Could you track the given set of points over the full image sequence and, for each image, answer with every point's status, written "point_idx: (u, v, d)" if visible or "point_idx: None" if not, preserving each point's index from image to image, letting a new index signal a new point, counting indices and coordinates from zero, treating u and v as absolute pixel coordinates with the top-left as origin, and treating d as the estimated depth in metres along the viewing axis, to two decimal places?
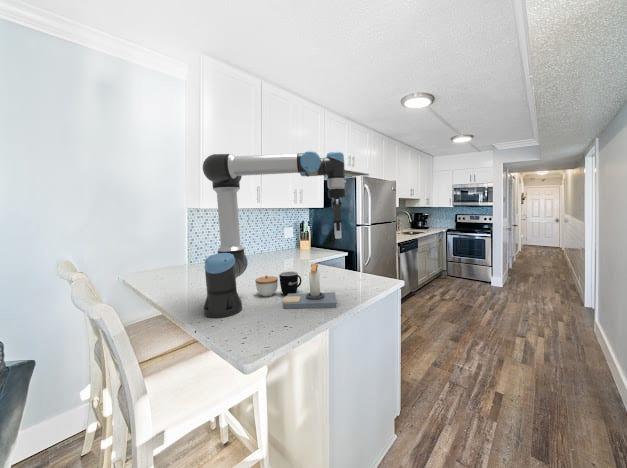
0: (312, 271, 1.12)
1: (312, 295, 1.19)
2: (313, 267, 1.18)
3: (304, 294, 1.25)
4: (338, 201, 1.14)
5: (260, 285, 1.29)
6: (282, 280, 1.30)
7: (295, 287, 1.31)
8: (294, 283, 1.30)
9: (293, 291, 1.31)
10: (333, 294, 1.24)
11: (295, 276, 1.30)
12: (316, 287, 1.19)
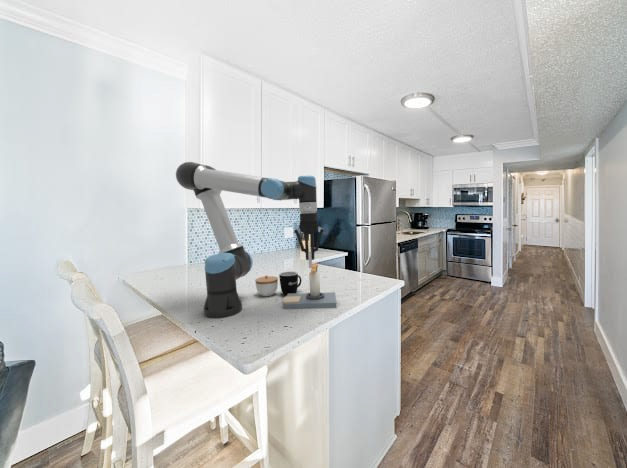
0: (312, 271, 1.12)
1: (312, 295, 1.19)
2: (313, 267, 1.18)
3: (304, 294, 1.25)
4: (295, 232, 1.17)
5: (260, 285, 1.29)
6: (282, 280, 1.30)
7: (295, 287, 1.31)
8: (294, 283, 1.30)
9: (293, 291, 1.31)
10: (333, 294, 1.24)
11: (295, 276, 1.30)
12: (316, 287, 1.19)
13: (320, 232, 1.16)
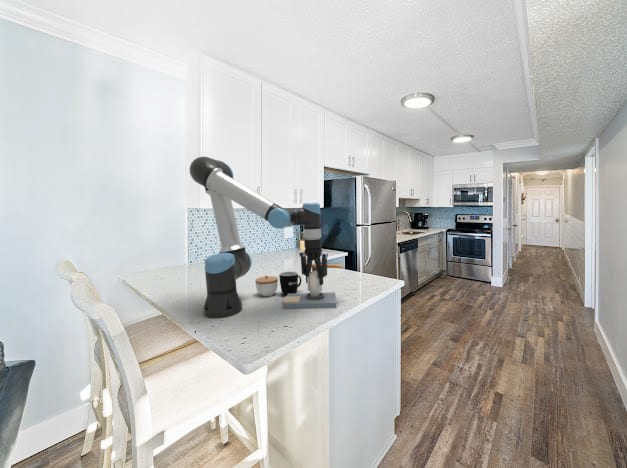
0: (340, 266, 1.20)
1: (312, 295, 1.19)
2: (328, 264, 1.22)
3: (304, 294, 1.25)
4: (326, 256, 1.17)
5: (260, 285, 1.29)
6: (282, 280, 1.30)
7: (295, 287, 1.31)
8: (294, 283, 1.30)
9: (293, 291, 1.31)
10: (333, 294, 1.24)
11: (295, 276, 1.30)
12: (316, 287, 1.19)
13: None
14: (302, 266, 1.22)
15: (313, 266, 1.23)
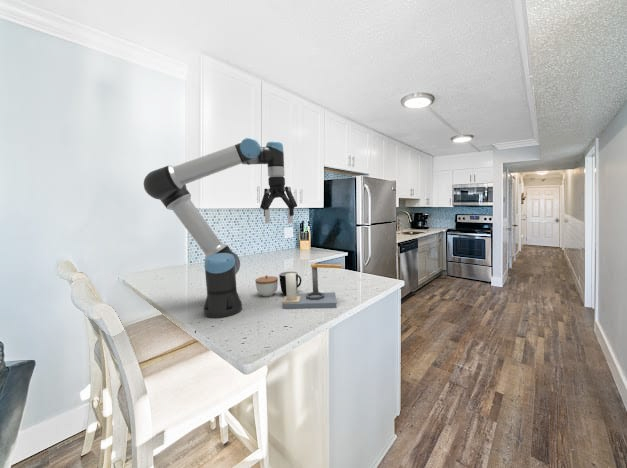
0: (340, 266, 1.20)
1: (288, 297, 1.17)
2: (328, 264, 1.22)
3: (304, 294, 1.25)
4: (289, 189, 1.23)
5: (260, 285, 1.29)
6: (282, 280, 1.30)
7: None
8: None
9: None
10: (333, 294, 1.24)
11: None
12: (292, 289, 1.16)
13: None
14: (262, 201, 1.30)
15: (313, 266, 1.23)
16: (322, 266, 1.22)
